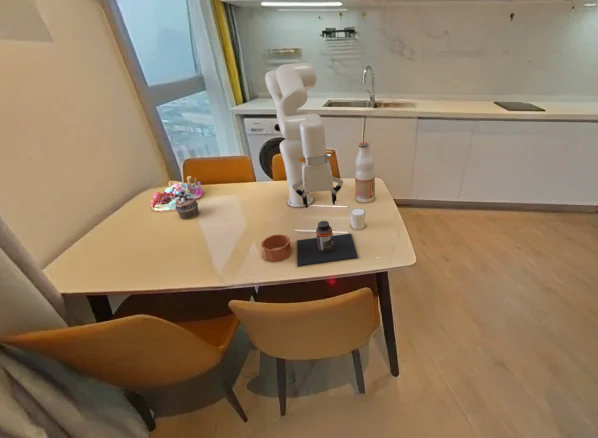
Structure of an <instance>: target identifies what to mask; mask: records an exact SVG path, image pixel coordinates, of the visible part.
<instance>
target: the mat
mask: <svg viewBox="0 0 598 438" xmlns="http://www.w3.org/2000/svg"><path fill="white" fill-rule="evenodd" d="M333 244H334V247H333V249H332V250H331V251H329V252H322V251H320V250H319V248H318V241H317V237H313V238H305V239H297V240H296V252H297V255H296V257H297V258H296V259H297V267H305V266H311V265H319V264H326V263H332V262H340V261H348V260H354V259H359V256H358V253H357V249H356V245H355V242H354V239H353V236H352V233H344V234H336V235H333Z"/></svg>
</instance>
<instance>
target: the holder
mask: <svg viewBox="0 0 598 438" xmlns="http://www.w3.org/2000/svg"><path fill="white" fill-rule="evenodd" d="M275 247H280V248H275ZM260 248H261V252H262V256H263V258H264V259H265V260H266V261H268V262H281V261H283V260H285V259H287V258H289V257H290V256H291V254H292V244H291V239H290V237H288V236H287V234H286V235H285V234H279V233H277V234H273V235H270V236H267V237H266V238H264V239H263V240H262V241H261V245H260Z"/></svg>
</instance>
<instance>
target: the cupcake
mask: <svg viewBox="0 0 598 438" xmlns="http://www.w3.org/2000/svg"><path fill="white" fill-rule="evenodd" d="M176 200H177V201H176V203H175V205H176V210H175V211H176V213H177V214H178V216H179V217H180V218H181V219H182V220H191V219H193V218H196V217H197V216H198V215H199V212H200V211H199V202H197V201H196V200H197V199H195V200H194V199H193V197H192V196H190V195H187V194H186V193H185V194H183V195H181V196H177V198H176Z"/></svg>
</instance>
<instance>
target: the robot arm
mask: <svg viewBox="0 0 598 438" xmlns="http://www.w3.org/2000/svg"><path fill="white" fill-rule="evenodd" d="M264 81H265V86H266V88H267V90H268V93H269V95H270V96H271V98H272V100H273V102H274V105H275V111H276V120H277V124H278V127H279V131H280V133H281V135H282V137H283V138H284V139H283V140H282V141H281V142H280V143H279V152H280V154H281V157H282V161H283V165H284V170H285V175H286V182H287V188H288V193H289V194H288V195H289V197H288V199H287V201H286V202H287V205H288V206H290V207H292V208H303V207H305V209H307V208H309V205H311V204H312V203H313V202H314V196H312V194H311V195H310V193H318V192H327V191H330V192H331V202H332V205H334V206H335V205H336V202H337V201H338V200H337V195H338V192H339V191H340V190H342V189H341V188H342V186H343V184H344V180H343V179H341V178H338V177H337V176H336V177H335V176H333V171H332V166H331V162H330V160H329V159H332V154H331V153H327V144H326V143H327V142H326V132H325V124H324V120H323V118H322V116H321V115H319V114H318V113H313V112H311V111H309V110H303V111H301V110H300V111H298V110H299V109H300V108H302V107H303V106H304V105H305V104H306V103H307V101H308V97H309V96H308V92H307V90H308V91H309V90H311V89H313V88H314V87H315V86H316V84H317V72H316V70H315V68H314V66H313V65H312V64H311V63H309V62H296V63H285V64H281V65H280V66H279V67H278V68H277V69H272V70H270V71H268V72H266V73H265V75H264ZM302 159H303V162H302V161H301V160H302ZM334 183H336V184H337V185H336V186H334Z"/></svg>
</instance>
